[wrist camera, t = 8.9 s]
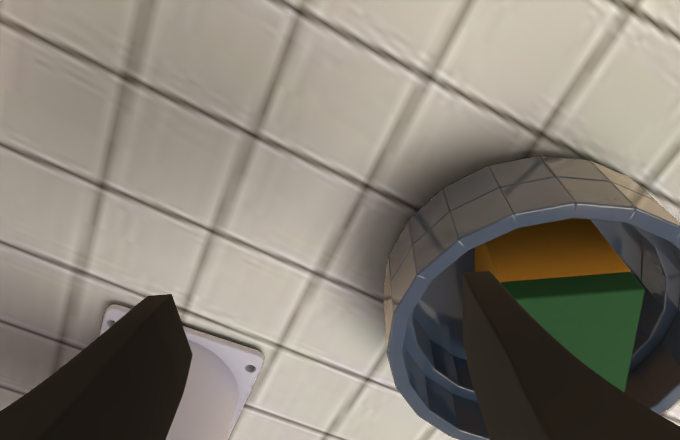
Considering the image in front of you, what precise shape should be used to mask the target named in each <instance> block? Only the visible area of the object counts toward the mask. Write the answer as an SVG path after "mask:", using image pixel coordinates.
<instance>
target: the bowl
mask: <svg viewBox="0 0 680 440" xmlns="http://www.w3.org/2000/svg"><path fill="white" fill-rule="evenodd" d="M571 218H578V219H589V220H591V221H592V222H593V224H594V225H595V226H596V227H597V229H598V230H599V231H600V232H601V234H602V235H603V236H604V237H605V239H606V240H607V241H608V243H609V244H610V245H611V246H612V248H613V249H614V250H615V251H616V253H617V254H618V255H619V257H620V258H621V259H622V260H623V262H624V263H625V264H626V265H627V267H628V268H629V269H630V272H631V273H632V274H633V275H634V276H635V277H636V279H637V280H638V281H639V282H640V284H641V285H642V286H643V288H644V289H645V292H644V297H643V302H642V307H641V312H640V317H639V322H638V327H637V332H636V337H635V342H634V347H633V352H632V357H631V362H630V367H629V372H628V377H627V382H626V387H625V392H624V393H626V394H627V395H629V396H630V397H632V398H633V399H635V400H637V401H638V402H640V403H641V404H643V405H644V406H646V407H648V408H649V409H651V410H652V411H654V412H656V413H657V414H661V413H663V412H665V411H666V410H668V409H669V408H670V407H671V406H672V405H673V404H674V403H675V402H676V401H678V400H679V399H680V223H679V222H678V221H677V220H676V219H675V218H674V217H673V216H672V215H671V214H670V213H669V212H667V211H666V210H665V209H664V208H663V207H662V206H661V205H660V204H659V203H658V202H657V201H656V200H654V199H653V198H652V197H651V196H650V195H649V194H648V193H647V192H646V191H645V190H644V189H642V188H641V187H640V186H639V185H638V184H637V183H636V182H635V181H634V180H632V179H631V178H629V177H627V176H625V175H622V174H620V173H618V172H615V171H613V170H611V169H609V168H606V167H604V166H602V165H599V164H597V163H595V162H593V161H589V160H581V159H570V158H558V157H547V156H540V157H538V156H536V157H531V158H526V159H521V160H516V161H511V162H506V163H501V164H496V165H491V166H489V167H488V166H486V167H484V168H482V169H480V170H478V171H476V172H474V173H472V174H470V175H468V176H466V177H464V178H462V179H460V180H458V181H456V182H454V183H452V184H450V185H448V186H446V187H444V188H443V189H442V190H441V191H440V192H439V193H437V194H436V195H435V196H434V197H433V198H432V199H431V200H430V201H429V202H428V203H427V204H426V205H424V206H423V207H422V208H421V209H420V210H419V211H418V212H417V213H416V214H415V215H414V216H413V217H411V218H410V220H409V221H408V222H407V224H406V226H405V228H404V229H403V231H402V233H401V235H400V236H399V238H398V240H397V242H396V244H395V245H394V247H393V249H392V251H391V253H390V254H389V256H388V262H387V268H386V275H385V281H384V288H383V296H384V313H385V331H386V349H387V356H388V360H389V363H390V367H391V371H392V375H393V379H394V383H395V386H396V388H397V389H398V391H399V392H400V393H401V394H402V396H403V397H404V398H405V400H406V401H407V402H408V404H409V405H410V406H411V407H412V409H413V410H414V411H415V413H416V414H417V415H419V417H421V418H422V419H424V420H425V421H427V422H428V423H430V424H431V425H433V426H435V427H436V428H438V429H439V430H441V431H442V432H444V433H445V434H447V435H448V436H451V437H453V438H456V439H459V440H490V438H489V435H488V431H487V428H486V425H485V422H484V419H483V416H482V413H481V410H480V406H479V403H478V400H477V397H476V394H475V390H474V387H473V384H472V381H471V378H470V373H469V368H468V363H467V358H466V353H465V347H464V342H463V273H466V272H475V247H477V246H479V245H482V244H484V243H486V242H488V241H490V240H493V239H495V238H497V237H499V236H501V235H504V234H506V233H508V232H510V231H512V230H515V229H517V228H521V227H526V226H532V225H537V224H543V223H549V222H554V221H560V220H566V219H571Z"/></svg>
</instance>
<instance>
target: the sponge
mask: <svg viewBox="0 0 680 440" xmlns="http://www.w3.org/2000/svg"><path fill="white" fill-rule="evenodd" d="M480 271H490V272H491V273H492V274H493V275H494V276H495V277H496V278H497V280H498V281H499V282H500V283H501V284H502V285H503V286H504V288H505V289H506V290H507V291H508V292H509V293H510V294H511V295H512V297H513V298H514V299H515V300H516V301H517V302H518V303H519V304H520V305H521V306H522V307H523V308H524V309H525V310H526V311H527V312H528V313H529V314H530V315H531V316H532V317H533V318H534V319H535V320H536V321H537V322H538V323H539V324H540V325H541V326H542V327H543V328H544V329H545V330H546V331H547V332H548V333H549V334H550V335H551V336H552V337H554V338H555V339H556V340H557V341H558V342H559V343H560V344H561V345H563V346H564V347H565V348H566V349H567V350H568V351H569V352H571V353H572V354H573V355H574V356H575V357H577V358H578V359H579V360H580V361H581V362H583V363H584V364H585V365H587V366H588V367H589V368H590V369H592V370H593V371H594V372H596V373H597V374H599V375H600V376H601V377H603V378H604V379H605V380H607V381H608V382H609V383H611V384H612V385H614V386H615V387H617V388H618V389H620V390H621V391H623V392H625V387H626V382H627V377H628V372H629V367H630V362H631V357H632V352H633V347H634V342H635V337H636V332H637V327H638V322H639V317H640V312H641V307H642V302H643V297H644V292H645V289H644V288H643V286H642V285H641V284H640V282H639V281H638V280H637V279H636V277H635V276H634V275H633V274H632V273H631V272H630V269H629V268H628V267H627V265H626V264H625V263H624V262H623V260H622V259H621V258H620V257H619V255H618V254H617V253H616V251H615V250H614V249H613V248H612V246H611V245H610V244H609V243H608V241H607V240H606V239H605V237H604V236H603V235H602V234H601V232H600V231H599V230H598V229H597V227H596V226H595V225H594V224H593V222H592V221H591V220H589V219H578V218H571V219H566V220H560V221H554V222H549V223H543V224H537V225H532V226H526V227H521V228H517V229H515V230H512V231H510V232H508V233H506V234H504V235H501V236H499V237H497V238H495V239H493V240H490V241H488V242H486V243H484V244H482V245H479V246H477V247H475V272H480Z"/></svg>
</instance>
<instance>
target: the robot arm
mask: <svg viewBox="0 0 680 440" xmlns="http://www.w3.org/2000/svg"><path fill="white" fill-rule="evenodd" d="M112 321H115V322H116V323H114V322H112ZM463 342H464V347H465V353H466V358H467V363H468V368H469V373H470V378H471V381H472V384H473V387H474V390H475V394H476V397H477V400H478V403H479V406H480V410H481V413H482V416H483V419H484V422H485V425H486V428H487V431H488V435H489V438H490V440H680V426H678V425H676V424H674V423H673V422H671V421H669V420H667V419H666V418H664V417H662V416H661V415H659V414H657V413H656V412H654V411H652V410H651V409H649V408H648V407H646V406H644V405H643V404H641V403H640V402H638V401H637V400H635V399H633V398H632V397H630V396H629V395H627V394H626V393H624V392H623V391H621V390H620V389H618V388H617V387H615V386H614V385H612V384H611V383H609V382H608V381H607V380H605V379H604V378H603V377H601V376H600V375H599V374H597V373H596V372H594V371H593V370H592V369H590V368H589V367H588V366H587V365H585V364H584V363H583V362H581V361H580V360H579V359H578V358H577V357H575V356H574V355H573V354H572V353H571V352H569V351H568V350H567V349H566V348H565V347H564V346H563V345H561V344H560V343H559V342H558V341H557V340H556V339H555V338H554V337H552V336H551V335H550V334H549V333H548V332H547V331H546V330H545V329H544V328H543V327H542V326H541V325H540V324H539V323H538V322H537V321H536V320H535V319H534V318H533V317H532V316H531V315H530V314H529V313H528V312H527V311H526V310H525V309H524V308H523V307H522V306H521V305H520V304H519V303H518V302H517V301H516V300H515V299H514V298H513V297H512V295H511V294H510V293H509V292H508V291H507V290H506V289H505V288H504V286H503V285H502V284H501V283H500V282H499V281H498V280H497V278H496V277H495V276H494V275H493V274H492V273H491V272H490V271H480V272H466V273H463ZM264 358H265V357H264V354H263V353H262V352H260V351H258V350H255V349H252V348H249V347H246V346H243V345H240V344H237V343H234V342H231V341H228V340H224V339H221V338H218V337H215V336H212V335H209V334H206V333H203V332H200V331H197V330H194V329H191V328H188V327H185V326H183V325H182V322H181V320H180V317H179V314H178V311H177V308H176V305H175V302H174V300H173V297H172V294H167V295H154V296H148V297H146V298H145V299H144V300H142V301H141V302H140V303H138V304H137V305H136V306H135V307H134V308H132V309H130V308H127V307H124V306H120V305H116V304H115V305H111V306H109V307H108V308H107V310H106V311H105V313H104V317H103V322H102V326H101V330H100V334H99V337H98V338H97V339H96V340H95V341H93V342H92V343H91V344H90V345H89V346H88V347H86V348H85V349H84V350H83V351H82V352H80V353H79V354H78V355H77V356H75V357H74V358H73V359H71V360H70V361H69V362H68V363H66V364H65V365H64V366H63V367H61V368H60V369H59V370H57V371H56V372H55V373H54V374H52V375H51V376H50V377H49V378H47V379H46V380H45V381H43V382H42V383H41V384H39V385H38V386H37V387H35V388H34V389H32V390H31V391H30V392H28V393H27V394H25V395H24V396H22V397H21V398H19V399H18V400H16V401H15V402H14V403H12V404H11V405H9V406H8V407H6V408H5V409H3V410H2V411H0V440H228V438H229V436H230V434H231V432H232V430H233V427H234V425H235V423H236V421H237V419H238V417H239V415H240V413H241V411H242V408H243V406H244V404H245V402H246V400H247V398H248V396H249V394H250V391H251V389H252V387H253V385H254V383H255V381H256V379H257V377H258V374H259V372H260V370H261V368H262V366H263V363H264ZM249 365H253V366H254V367H251V366H249Z"/></svg>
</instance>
